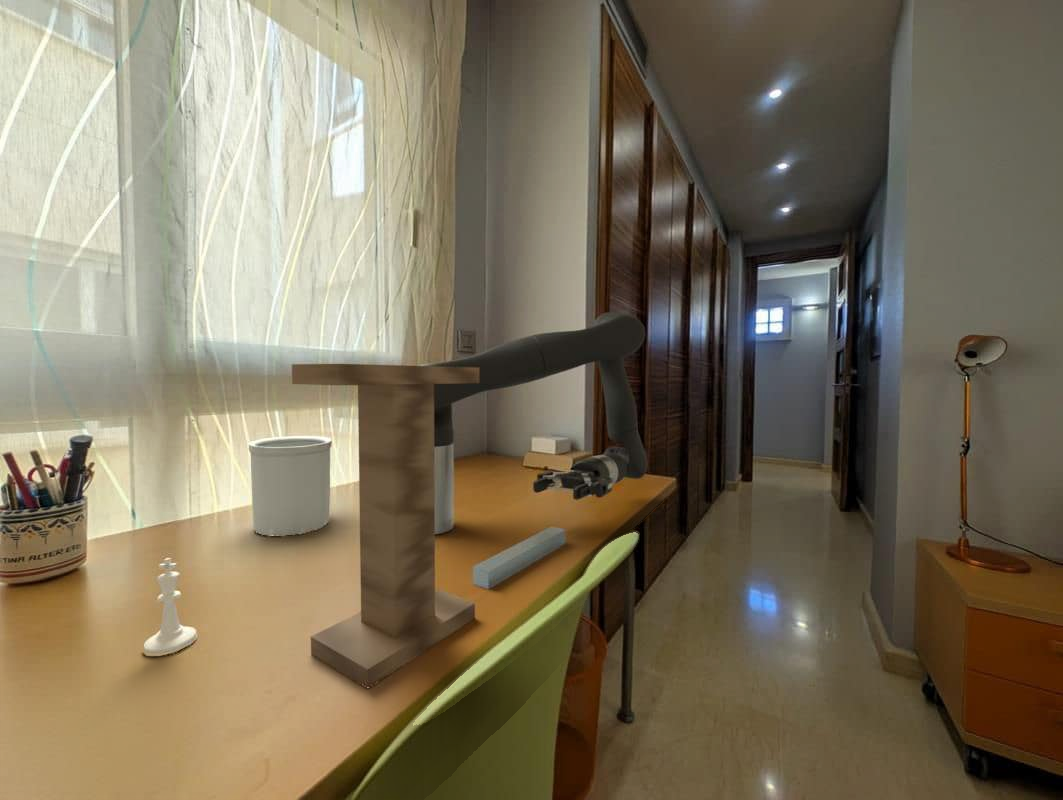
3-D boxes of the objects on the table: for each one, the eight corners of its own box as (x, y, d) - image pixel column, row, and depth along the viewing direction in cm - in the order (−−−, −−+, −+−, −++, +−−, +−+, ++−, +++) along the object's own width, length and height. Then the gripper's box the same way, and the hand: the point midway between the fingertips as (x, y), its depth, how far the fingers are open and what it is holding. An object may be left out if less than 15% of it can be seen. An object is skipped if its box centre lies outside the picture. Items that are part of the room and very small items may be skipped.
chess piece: (163, 632, 55) (160, 551, 54) (206, 631, 55) (204, 549, 54) (130, 658, 50) (127, 568, 49) (179, 656, 50) (175, 567, 50)
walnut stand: (431, 591, 66) (429, 367, 64) (484, 611, 60) (485, 367, 58) (293, 663, 49) (286, 364, 47) (349, 701, 43) (344, 363, 42)
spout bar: (551, 542, 86) (551, 526, 86) (565, 545, 84) (565, 529, 84) (472, 586, 68) (472, 566, 68) (488, 591, 66) (488, 571, 66)
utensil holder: (347, 522, 96) (346, 439, 95) (276, 544, 83) (274, 448, 82) (307, 510, 104) (305, 434, 103) (236, 529, 91) (233, 442, 90)
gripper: (565, 453, 101) (522, 465, 87) (626, 460, 93) (589, 475, 79) (565, 487, 101) (522, 504, 88) (625, 497, 93) (589, 517, 80)
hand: (554, 490), depth 83 cm, fingers open, 8 cm apart
